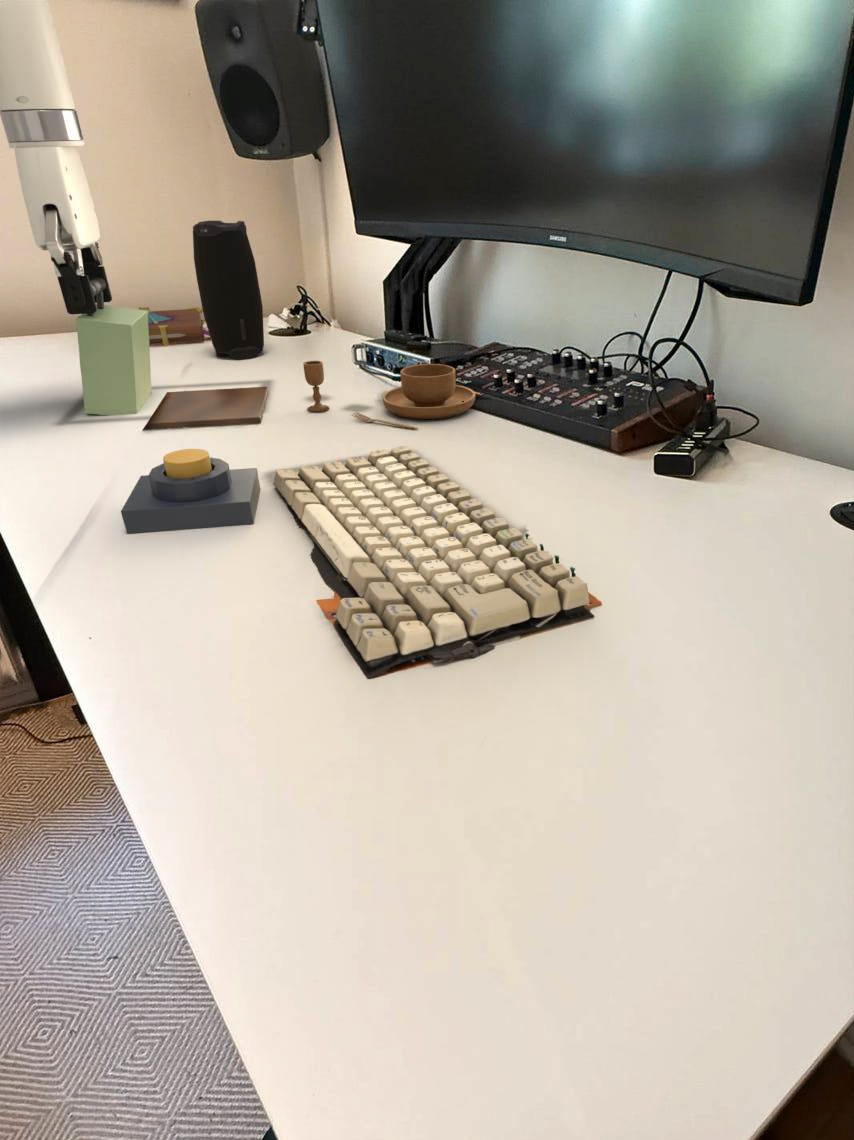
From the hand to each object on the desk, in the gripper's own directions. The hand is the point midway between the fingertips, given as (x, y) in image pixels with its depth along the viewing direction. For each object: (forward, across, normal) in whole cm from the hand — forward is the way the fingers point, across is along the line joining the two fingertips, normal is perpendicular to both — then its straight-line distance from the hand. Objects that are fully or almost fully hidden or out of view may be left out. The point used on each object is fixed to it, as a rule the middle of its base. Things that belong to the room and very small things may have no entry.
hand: (90, 306), depth 96 cm
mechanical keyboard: (+14, +46, +33) cm, 58 cm away
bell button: (+9, +35, +15) cm, 39 cm away
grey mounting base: (+13, +35, +15) cm, 40 cm away
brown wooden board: (+13, 0, +7) cm, 15 cm away
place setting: (+14, +3, +36) cm, 39 cm away
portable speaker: (+14, -33, +12) cm, 38 cm away
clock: (+12, 0, 0) cm, 12 cm away
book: (+14, -51, -4) cm, 53 cm away
